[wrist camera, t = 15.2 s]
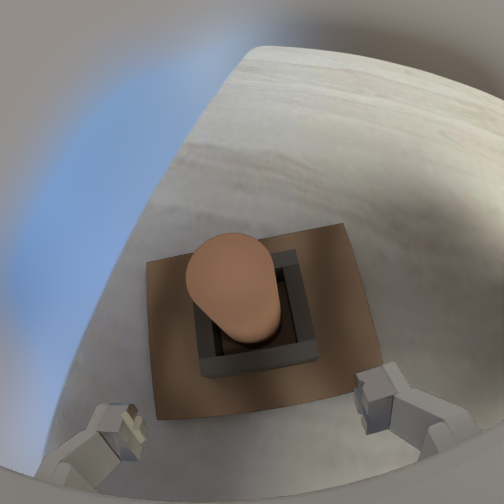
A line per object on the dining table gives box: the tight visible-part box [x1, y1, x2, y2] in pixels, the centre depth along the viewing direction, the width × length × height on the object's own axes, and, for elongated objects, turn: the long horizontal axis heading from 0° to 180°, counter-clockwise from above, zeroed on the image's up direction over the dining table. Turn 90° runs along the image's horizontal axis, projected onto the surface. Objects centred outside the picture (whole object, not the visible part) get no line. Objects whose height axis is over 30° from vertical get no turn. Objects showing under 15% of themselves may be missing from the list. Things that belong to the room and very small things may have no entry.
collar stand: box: [147, 223, 383, 420], centre depth 24 cm, size 18×14×4 cm
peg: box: [186, 233, 282, 349], centre depth 20 cm, size 4×4×10 cm
